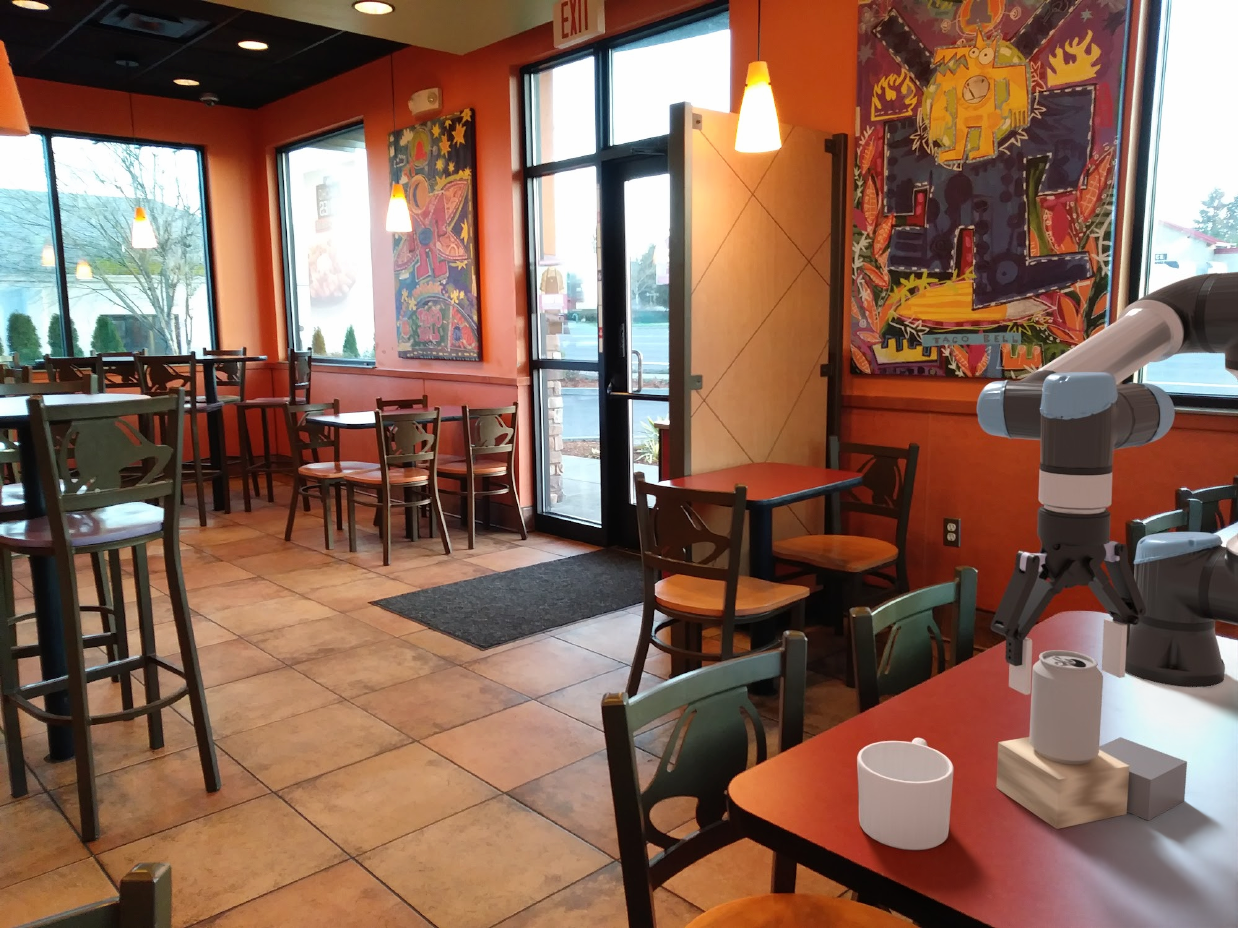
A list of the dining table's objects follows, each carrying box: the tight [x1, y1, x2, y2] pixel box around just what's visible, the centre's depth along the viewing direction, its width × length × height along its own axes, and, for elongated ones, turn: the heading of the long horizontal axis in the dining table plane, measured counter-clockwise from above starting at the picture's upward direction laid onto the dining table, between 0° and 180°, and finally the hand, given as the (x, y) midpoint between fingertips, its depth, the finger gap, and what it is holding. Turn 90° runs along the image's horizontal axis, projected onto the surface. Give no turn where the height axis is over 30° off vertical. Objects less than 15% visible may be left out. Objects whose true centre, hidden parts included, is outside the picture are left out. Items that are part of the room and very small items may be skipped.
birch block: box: [995, 736, 1129, 830], centre depth 108 cm, size 10×10×6 cm
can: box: [1029, 649, 1104, 764], centre depth 107 cm, size 8×8×12 cm
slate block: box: [1099, 736, 1188, 821], centre depth 108 cm, size 8×8×5 cm
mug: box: [856, 737, 955, 851], centre depth 104 cm, size 13×10×8 cm
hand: (1067, 681), depth 106 cm, fingers open, 13 cm apart
